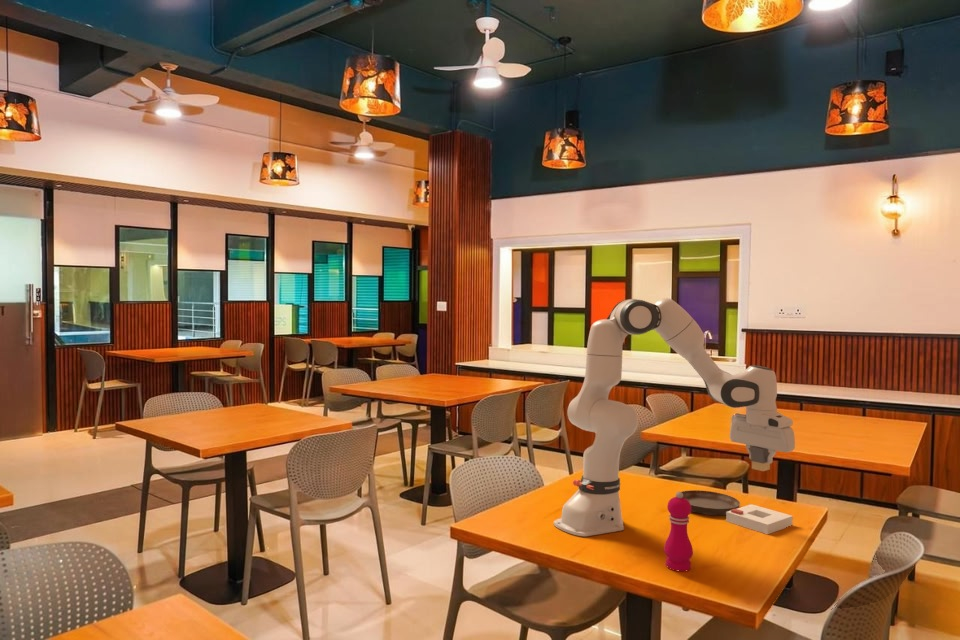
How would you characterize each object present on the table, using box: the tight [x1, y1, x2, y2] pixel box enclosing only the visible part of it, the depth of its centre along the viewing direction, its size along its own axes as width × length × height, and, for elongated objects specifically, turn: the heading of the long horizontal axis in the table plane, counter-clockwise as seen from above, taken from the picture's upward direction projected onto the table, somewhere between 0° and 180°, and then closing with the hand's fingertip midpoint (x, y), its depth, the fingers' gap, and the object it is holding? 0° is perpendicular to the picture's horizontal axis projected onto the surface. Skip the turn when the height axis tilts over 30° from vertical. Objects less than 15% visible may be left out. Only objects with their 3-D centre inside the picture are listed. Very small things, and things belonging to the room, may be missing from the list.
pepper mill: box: [663, 491, 694, 572], centre depth 170 cm, size 7×7×20 cm
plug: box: [750, 446, 771, 472], centre depth 204 cm, size 4×4×7 cm
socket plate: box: [725, 503, 794, 535], centre depth 204 cm, size 14×14×4 cm
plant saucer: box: [681, 489, 741, 516], centre depth 220 cm, size 21×21×3 cm
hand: (760, 460), depth 204 cm, fingers closed on plug, 4 cm apart
